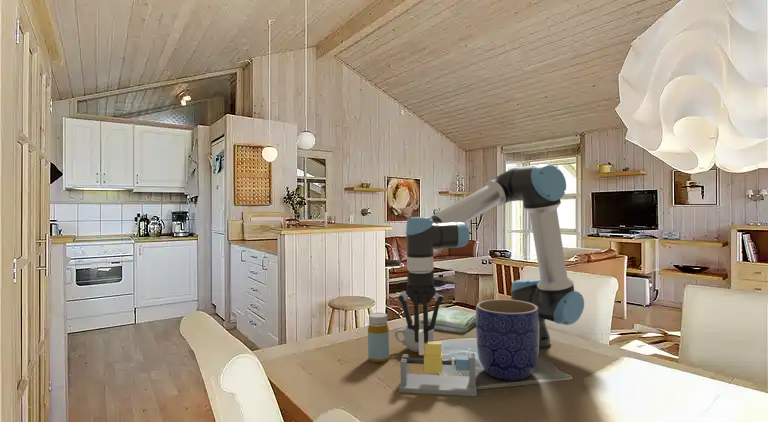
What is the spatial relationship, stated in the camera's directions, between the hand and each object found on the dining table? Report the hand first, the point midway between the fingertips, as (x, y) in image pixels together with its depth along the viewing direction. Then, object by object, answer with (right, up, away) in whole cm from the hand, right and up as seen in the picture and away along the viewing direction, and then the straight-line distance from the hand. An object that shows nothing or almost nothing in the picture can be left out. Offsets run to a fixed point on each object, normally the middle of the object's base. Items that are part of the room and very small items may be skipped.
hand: (421, 353), depth 124 cm
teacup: (0, -9, +31) cm, 32 cm away
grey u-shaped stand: (+5, -9, -1) cm, 10 cm away
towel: (+17, -8, +61) cm, 64 cm away
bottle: (-13, -9, +21) cm, 27 cm away
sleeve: (+3, -4, -1) cm, 6 cm away
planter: (+27, -9, +8) cm, 29 cm away
